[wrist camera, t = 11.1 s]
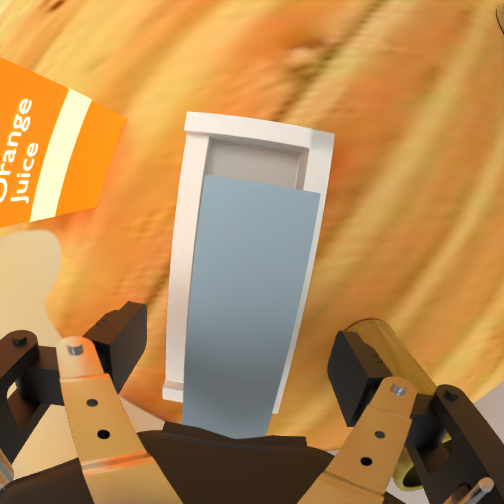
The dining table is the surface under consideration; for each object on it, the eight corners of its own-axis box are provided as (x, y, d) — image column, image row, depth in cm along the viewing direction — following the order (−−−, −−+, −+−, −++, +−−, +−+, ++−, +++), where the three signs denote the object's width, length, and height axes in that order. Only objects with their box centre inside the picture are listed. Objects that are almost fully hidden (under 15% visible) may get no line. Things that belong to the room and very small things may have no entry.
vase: (358, 307, 23) (451, 419, 9) (405, 332, 24) (496, 429, 10) (318, 364, 24) (367, 496, 11) (368, 383, 25) (429, 494, 11)
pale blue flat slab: (284, 191, 20) (320, 193, 10) (256, 349, 22) (262, 445, 12) (222, 181, 20) (198, 174, 10) (201, 341, 22) (177, 434, 12)
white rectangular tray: (317, 144, 21) (334, 133, 16) (273, 380, 25) (277, 413, 20) (199, 126, 20) (187, 111, 16) (174, 367, 24) (162, 398, 20)
